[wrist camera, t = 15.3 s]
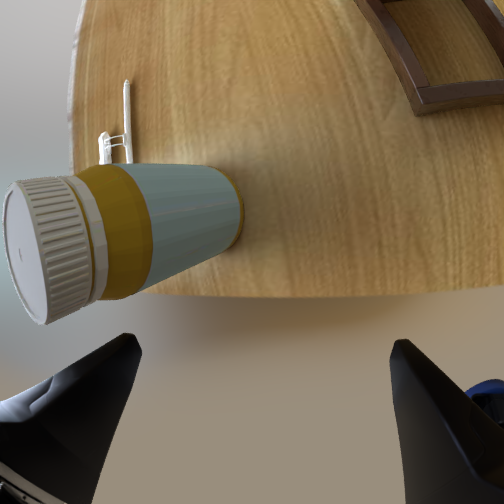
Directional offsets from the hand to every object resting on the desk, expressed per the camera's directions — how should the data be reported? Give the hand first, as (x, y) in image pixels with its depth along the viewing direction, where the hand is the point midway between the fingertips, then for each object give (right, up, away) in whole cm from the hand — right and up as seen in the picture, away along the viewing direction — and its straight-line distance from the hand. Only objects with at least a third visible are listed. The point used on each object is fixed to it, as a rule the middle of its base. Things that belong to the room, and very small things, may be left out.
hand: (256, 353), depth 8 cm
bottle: (-4, +7, +13) cm, 15 cm away
